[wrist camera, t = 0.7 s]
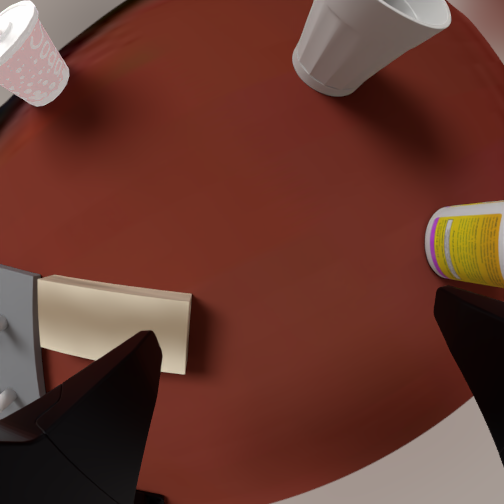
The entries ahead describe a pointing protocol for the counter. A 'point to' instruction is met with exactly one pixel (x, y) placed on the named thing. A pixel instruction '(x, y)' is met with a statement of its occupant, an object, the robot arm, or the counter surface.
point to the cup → (361, 39)
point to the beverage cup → (29, 56)
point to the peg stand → (19, 340)
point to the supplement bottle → (468, 243)
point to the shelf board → (111, 318)
